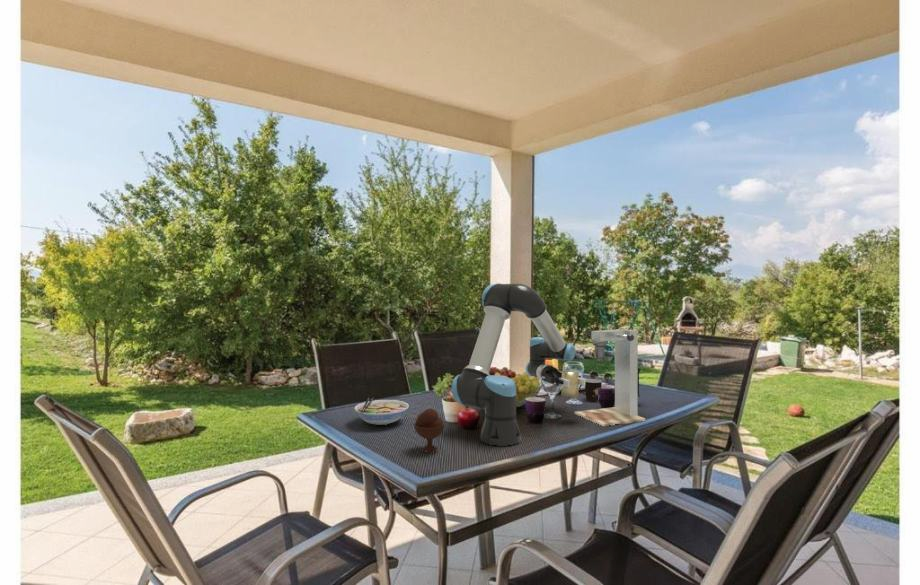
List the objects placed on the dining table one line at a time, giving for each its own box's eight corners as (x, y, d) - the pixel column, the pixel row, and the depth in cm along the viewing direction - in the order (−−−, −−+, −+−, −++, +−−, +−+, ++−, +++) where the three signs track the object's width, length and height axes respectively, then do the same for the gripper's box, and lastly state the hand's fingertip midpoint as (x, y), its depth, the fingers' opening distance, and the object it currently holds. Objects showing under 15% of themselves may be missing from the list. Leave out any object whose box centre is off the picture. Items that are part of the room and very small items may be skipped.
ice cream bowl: (451, 449, 165) (451, 407, 165) (429, 458, 157) (428, 413, 157) (430, 442, 172) (430, 402, 172) (407, 450, 164) (407, 408, 164)
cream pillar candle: (567, 397, 192) (567, 373, 192) (558, 394, 199) (558, 370, 199) (581, 396, 195) (581, 372, 195) (572, 392, 201) (572, 369, 201)
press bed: (602, 426, 191) (602, 423, 191) (574, 414, 209) (574, 411, 209) (645, 420, 198) (645, 418, 198) (615, 409, 217) (615, 406, 217)
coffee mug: (600, 398, 237) (600, 379, 237) (603, 403, 229) (603, 382, 228) (576, 398, 238) (576, 378, 238) (579, 402, 230) (579, 382, 230)
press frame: (611, 424, 190) (611, 334, 190) (587, 413, 206) (587, 330, 205) (648, 419, 197) (648, 332, 196) (622, 409, 212) (622, 328, 212)
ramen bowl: (405, 432, 184) (405, 412, 184) (348, 433, 184) (347, 412, 184) (411, 415, 209) (411, 396, 209) (361, 415, 209) (360, 397, 209)
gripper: (566, 380, 217) (596, 390, 195) (528, 383, 210) (555, 394, 189) (566, 364, 217) (596, 372, 195) (528, 366, 210) (555, 375, 189)
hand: (576, 383), depth 192 cm, fingers closed on cream pillar candle, 7 cm apart
